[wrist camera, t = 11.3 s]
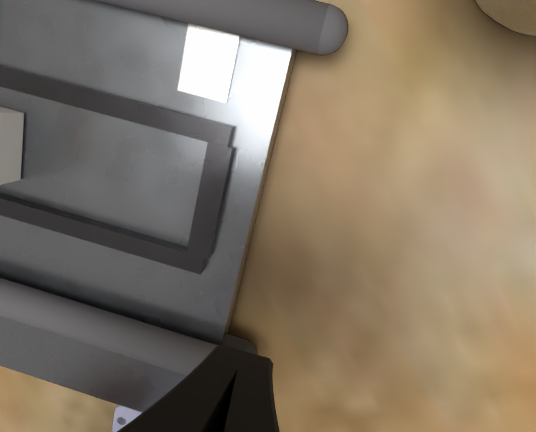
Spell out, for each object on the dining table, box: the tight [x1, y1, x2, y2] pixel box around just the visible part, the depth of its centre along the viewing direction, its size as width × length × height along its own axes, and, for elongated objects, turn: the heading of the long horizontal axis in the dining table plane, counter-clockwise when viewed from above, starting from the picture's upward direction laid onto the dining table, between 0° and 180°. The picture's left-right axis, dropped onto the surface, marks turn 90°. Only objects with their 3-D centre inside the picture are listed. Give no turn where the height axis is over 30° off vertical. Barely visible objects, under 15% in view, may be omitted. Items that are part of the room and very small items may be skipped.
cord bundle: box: [96, 0, 348, 55], centre depth 17 cm, size 17×21×3 cm
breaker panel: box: [0, 0, 297, 413], centre depth 18 cm, size 24×16×2 cm, turn 166°
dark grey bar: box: [0, 278, 257, 376], centre depth 19 cm, size 2×20×3 cm, turn 76°
